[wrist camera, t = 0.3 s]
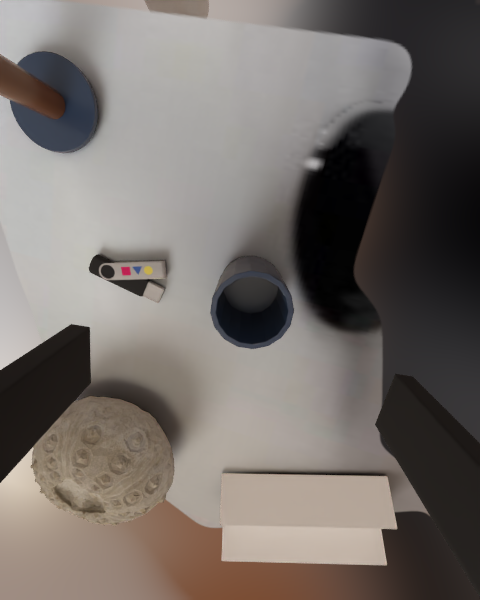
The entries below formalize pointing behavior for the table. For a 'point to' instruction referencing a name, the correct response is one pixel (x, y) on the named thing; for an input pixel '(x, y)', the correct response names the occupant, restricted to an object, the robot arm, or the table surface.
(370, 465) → the table surface
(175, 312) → the table surface
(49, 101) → the lid
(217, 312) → the tin
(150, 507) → the decorative shell
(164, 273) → the usb flash drive
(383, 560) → the z bracket
